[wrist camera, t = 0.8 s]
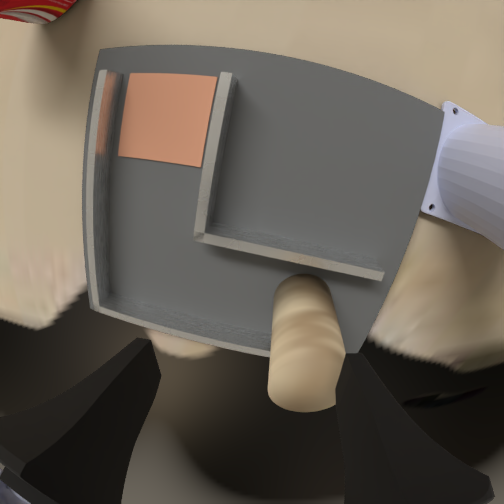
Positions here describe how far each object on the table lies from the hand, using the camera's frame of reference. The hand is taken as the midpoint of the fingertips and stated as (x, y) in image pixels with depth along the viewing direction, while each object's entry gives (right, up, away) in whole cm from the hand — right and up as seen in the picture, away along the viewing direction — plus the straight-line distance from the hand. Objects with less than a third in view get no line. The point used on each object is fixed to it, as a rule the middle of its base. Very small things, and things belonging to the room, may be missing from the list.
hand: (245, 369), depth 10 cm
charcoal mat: (0, +6, +9) cm, 11 cm away
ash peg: (+4, +1, +10) cm, 10 cm away
